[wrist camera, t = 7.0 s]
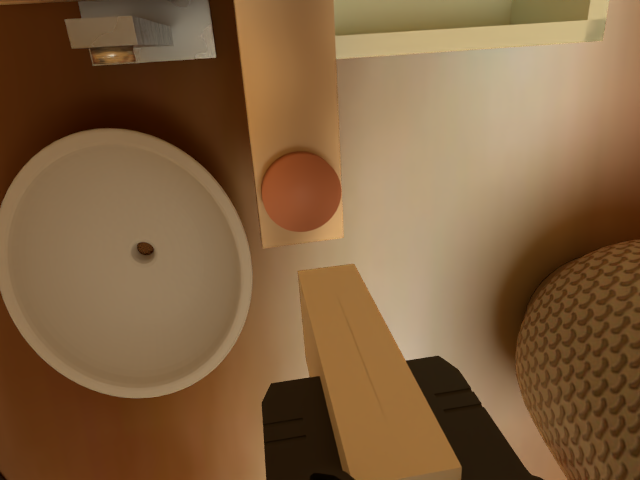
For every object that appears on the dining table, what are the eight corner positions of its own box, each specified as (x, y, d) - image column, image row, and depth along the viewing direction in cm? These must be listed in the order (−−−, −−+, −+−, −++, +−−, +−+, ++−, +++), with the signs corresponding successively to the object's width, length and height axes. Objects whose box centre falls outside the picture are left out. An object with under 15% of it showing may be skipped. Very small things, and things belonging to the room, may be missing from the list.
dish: (3, 115, 28) (-44, 128, 23) (246, 116, 30) (247, 128, 26) (58, 360, 35) (30, 408, 30) (255, 347, 37) (256, 389, 32)
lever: (-68, 264, 23) (-148, 325, 18) (-271, -220, 16) (-498, -346, 11) (363, 211, 27) (397, 249, 22) (352, -207, 20) (400, -296, 14)
